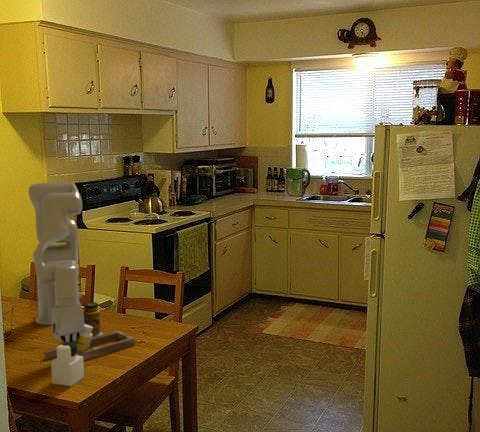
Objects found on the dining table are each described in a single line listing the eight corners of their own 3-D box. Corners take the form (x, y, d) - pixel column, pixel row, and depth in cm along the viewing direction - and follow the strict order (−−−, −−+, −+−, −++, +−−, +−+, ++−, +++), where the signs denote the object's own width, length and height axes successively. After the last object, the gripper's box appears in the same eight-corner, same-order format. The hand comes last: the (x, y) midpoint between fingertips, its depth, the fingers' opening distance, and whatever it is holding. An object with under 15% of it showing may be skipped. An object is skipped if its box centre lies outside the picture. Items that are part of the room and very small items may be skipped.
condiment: (103, 334, 213) (102, 304, 211) (82, 339, 208) (80, 308, 206) (97, 329, 219) (96, 299, 217) (76, 333, 214) (74, 303, 212)
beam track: (40, 355, 192) (40, 348, 192) (114, 334, 212) (114, 327, 212) (59, 368, 182) (58, 360, 182) (135, 344, 202) (134, 337, 202)
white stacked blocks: (65, 374, 178) (63, 338, 176) (84, 377, 176) (82, 341, 174) (51, 383, 171) (49, 347, 169) (71, 386, 169) (69, 349, 167)
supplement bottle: (68, 350, 191) (76, 323, 191) (77, 349, 196) (85, 323, 196) (80, 356, 189) (89, 328, 189) (89, 354, 194) (97, 327, 195)
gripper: (82, 294, 195) (84, 344, 197) (41, 303, 185) (44, 355, 187) (92, 298, 189) (95, 349, 192) (50, 307, 179) (53, 361, 182)
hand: (70, 352), depth 189 cm, fingers closed
